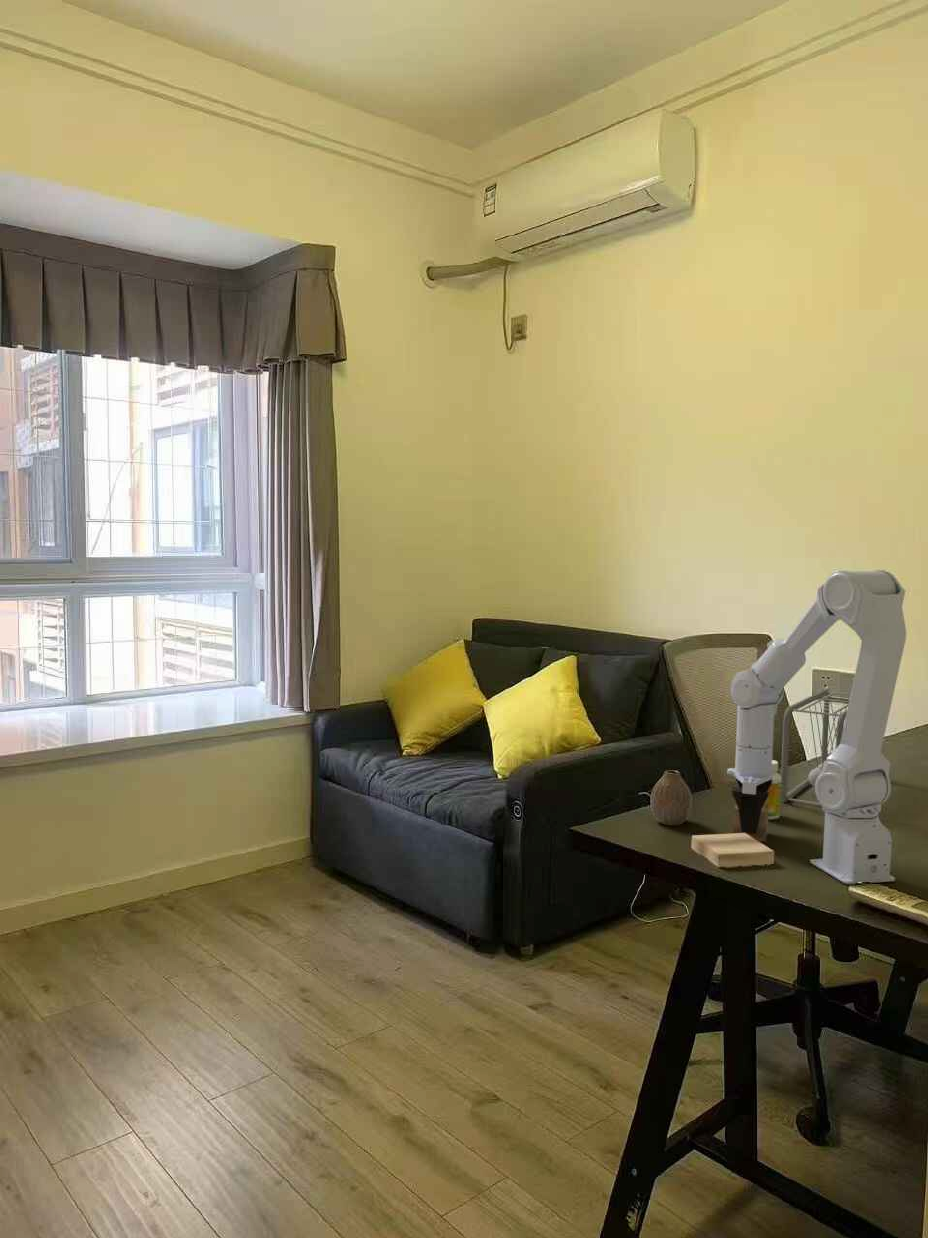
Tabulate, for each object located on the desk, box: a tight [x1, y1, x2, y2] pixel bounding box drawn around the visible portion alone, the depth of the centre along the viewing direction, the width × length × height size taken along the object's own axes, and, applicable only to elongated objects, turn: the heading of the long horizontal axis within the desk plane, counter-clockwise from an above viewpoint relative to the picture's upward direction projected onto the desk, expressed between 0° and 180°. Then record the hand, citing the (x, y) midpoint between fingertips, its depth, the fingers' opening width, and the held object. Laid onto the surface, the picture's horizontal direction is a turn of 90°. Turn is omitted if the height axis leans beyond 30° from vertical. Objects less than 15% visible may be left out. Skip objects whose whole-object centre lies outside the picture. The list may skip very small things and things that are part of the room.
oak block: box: [691, 832, 775, 868], centre depth 150 cm, size 9×9×2 cm
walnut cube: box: [732, 802, 769, 842], centre depth 160 cm, size 5×5×5 cm
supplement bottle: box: [764, 759, 782, 820], centre depth 172 cm, size 5×5×10 cm
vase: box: [649, 769, 693, 826], centre depth 167 cm, size 7×7×9 cm
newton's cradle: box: [780, 688, 851, 807], centre depth 189 cm, size 30×10×18 cm, turn 146°
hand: (750, 827), depth 160 cm, fingers open, 6 cm apart
